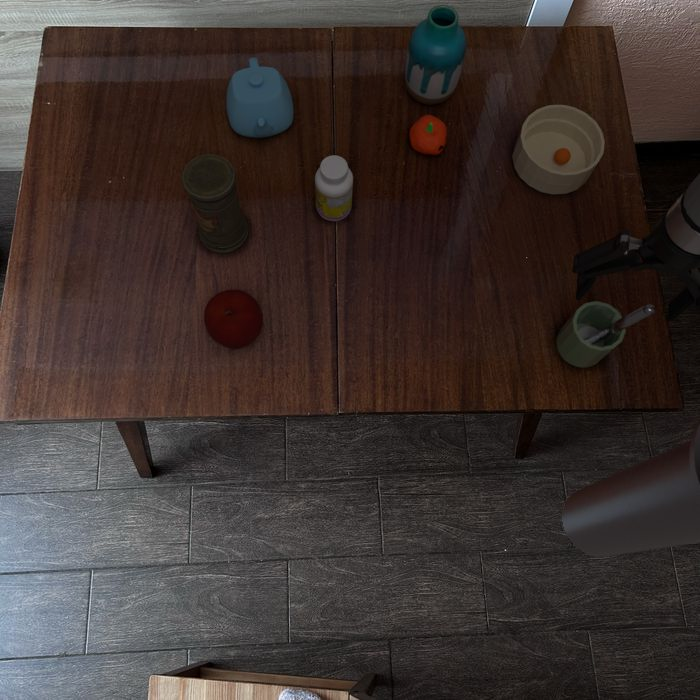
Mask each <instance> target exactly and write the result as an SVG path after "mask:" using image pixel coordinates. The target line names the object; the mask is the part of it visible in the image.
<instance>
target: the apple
mask: <svg viewBox="0 0 700 700" xmlns="http://www.w3.org/2000/svg"><path fill="white" fill-rule="evenodd" d="M203 322H204V323H203V324H204V327H205V330H206V332H207V334H208V335H209V336H210V338H211V339H212V340H213V341H214V342H216V343H217V344H219V345H220V346H222V347H225V348H226V349H227V348H228V349H231V350H232V349H233V350H239V349H244V348H246V347H248V346H249V345H251V344H253V343H254V342H255V341H256V340H257V339H258V337H259V336H260V334H261V332H262V329H263V323H264V317H263V311H262V309H261V306H260V304H259V303H258V301H257V299H256V298H254V296H252V295H251V294H250V293H248V292H246V291H244V290H241V289H234V288H233V289H225V290H223V291H219V292H218V293H216V294H215V295H213V296H212V297H211V298H210V299H209V300H208V302H207V303H206V305H205V308H204V313H203Z"/></svg>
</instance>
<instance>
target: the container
mask: <svg viewBox="0 0 700 700" xmlns="http://www.w3.org/2000/svg"><path fill="white" fill-rule="evenodd" d="M236 181H237V173H236V169H235V167H234V166H233V164H232V163H231V162H230V161H229V160H228V159H226V158H225V157H223V156H221V155H217V154H212V153H211V154H210V153H208V154H207V153H206V154H202V155H201V154H200V155H198V156H196V157H194V158H192V159H191V160H190V161H188V163H187V164H186V165H185V167H184V169H183V171H182V175H181V183H182V187H183V190H184V191H185V192H186V193H187V195H188V198H189V202H191V204H192V208H193V210H194V213H195V216H196V223H197V227H198V228H197V229H198V236H199V239H200V241H201V243H202V245H203V246H204V247H205V248H207V249H208V250H209V251H211V252H213V253H216V254H222V255H223V254H230V253H231V254H232V253H233V252H235V251H237V250H240V248H241V247H243V246H244V244H245V242H246V241H247V238H248V236H249V223H248V220H247V219H246V216H245V214H244V213H243V212H244V211H243V209H242V207H241V204H240V199H239V195H238V186H237V183H236Z"/></svg>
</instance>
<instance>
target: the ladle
mask: <svg viewBox="0 0 700 700" xmlns="http://www.w3.org/2000/svg"><path fill="white" fill-rule="evenodd" d="M655 312H656V307H655V306H654V305H653V304H651V303H647V304H645V305H643V306H641V307H639V308H638V309H636V310H634V311H632V312H630V313H628V314H627V315H625V316H622V318H621V319H619V320H617V321H615V322H614V323H612V324H610V325H608V326H606V327H604V328H603V329H601V330H599V331H598V330H597V329H596V328H593V327H590V326H585V327H582V328H580V329H578V331H579V333H580V335H581V336H582V338H583V339H584V340H586V341H587V342H588V343H590V344H591V345H595V346H599V347H604V339H605V338H607V337H609V336H611V335H613V334H615V333H617V332H619V331H621V330H623V329H625V330H626V329H627V328H629V327H631V326H632V325H634V324H636V323H639V322H640V321H643V320H644V319H647V318H648V317H650V316H652V315H653V314H655Z"/></svg>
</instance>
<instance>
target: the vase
mask: <svg viewBox="0 0 700 700" xmlns="http://www.w3.org/2000/svg"><path fill="white" fill-rule="evenodd" d="M466 52H467V37H466V34H465V31H464V30H463V28H462V27H461V25H460V24H459V14H458V12H457V10H456V9H455V8H453V7H452V6H450V5H447V4H439V5H435V6H433V7H432V8H431V9H430V10H429V11H428V14H427V17H426V19H425V18H424V19H423V20H422V21H420V22H419V23H418V24H417V25H416V26H415V27H414V30H413V31H412V33H411V37H410V39H409V42H408V47H407V54H406V59H405V70H404V80H405V86H406V89H407V92H408V93H409V95H410V97H411V98H413V99H414V100H415V101H416V102H418V103H420V104H423V105H428V106H433V105H434V106H435V105H439V104H442V103H444V102H445V101H447V100H448V99H449V98H450V97H451V96H453V94H454V92H455V91H456V88H457V86H458V83H459V81H460V78H461V74H462V71H463V66H464V63H465V57H466Z"/></svg>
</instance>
